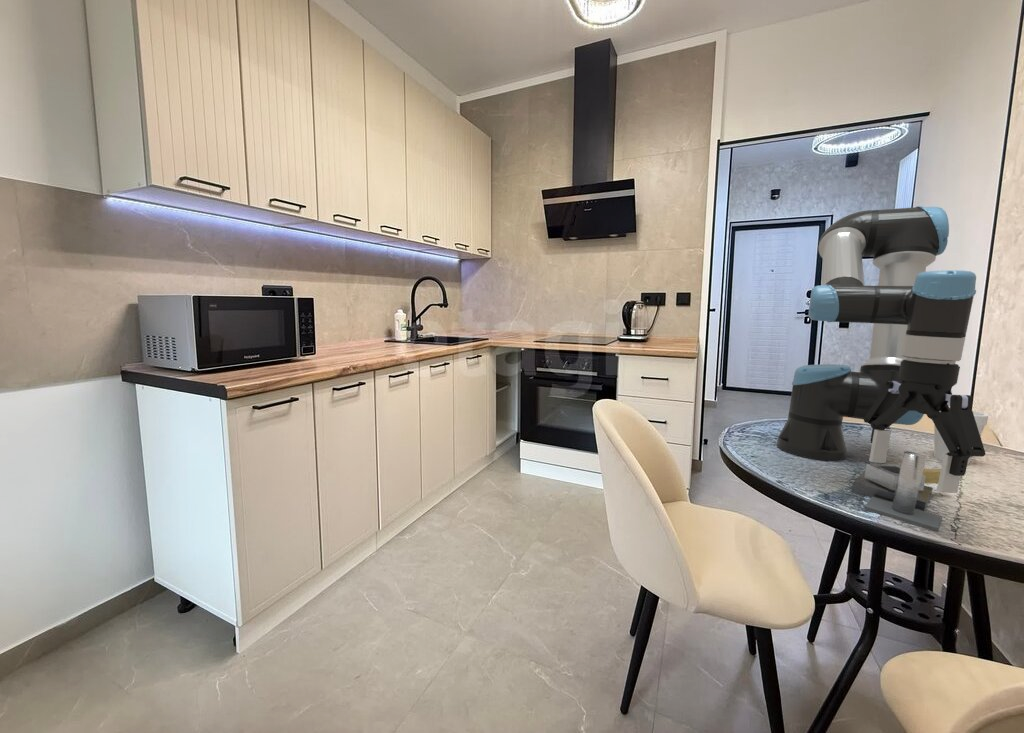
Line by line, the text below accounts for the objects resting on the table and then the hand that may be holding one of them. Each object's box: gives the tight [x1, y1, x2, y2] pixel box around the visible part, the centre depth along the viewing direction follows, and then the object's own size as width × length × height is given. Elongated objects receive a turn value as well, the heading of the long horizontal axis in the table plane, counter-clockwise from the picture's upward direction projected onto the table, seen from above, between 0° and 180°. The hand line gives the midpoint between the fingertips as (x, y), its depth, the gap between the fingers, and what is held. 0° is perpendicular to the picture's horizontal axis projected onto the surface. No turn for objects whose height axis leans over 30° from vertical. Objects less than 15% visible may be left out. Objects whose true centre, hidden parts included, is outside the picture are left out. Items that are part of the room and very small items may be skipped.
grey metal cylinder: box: [892, 450, 927, 515], centre depth 78 cm, size 3×3×11 cm
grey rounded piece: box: [933, 410, 989, 466], centre depth 110 cm, size 10×9×13 cm
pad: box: [863, 496, 944, 532], centre depth 79 cm, size 10×7×1 cm
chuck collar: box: [864, 463, 941, 491], centre depth 88 cm, size 15×6×3 cm, turn 93°
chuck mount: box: [850, 470, 934, 511], centre depth 88 cm, size 11×11×2 cm
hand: (909, 475), depth 78 cm, fingers open, 13 cm apart
